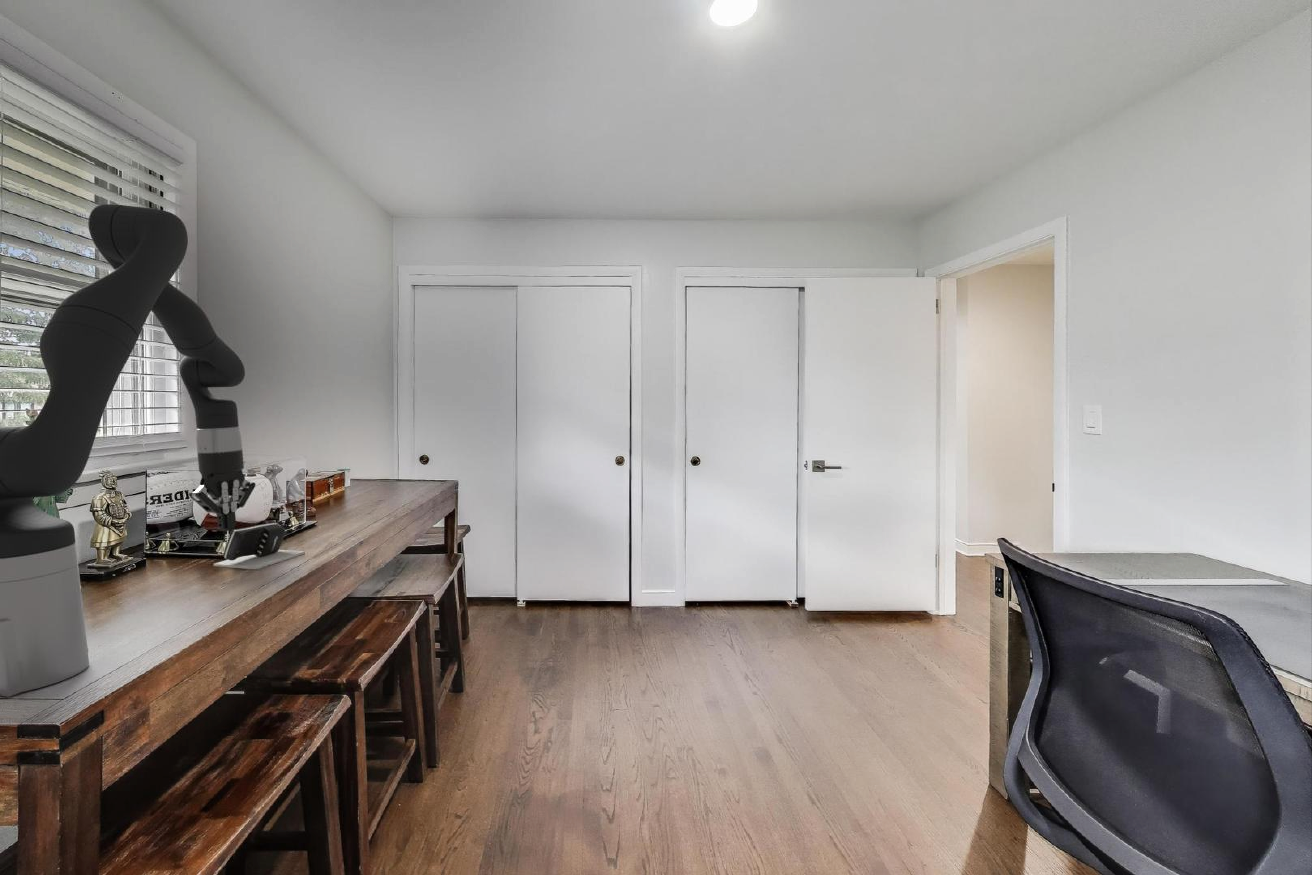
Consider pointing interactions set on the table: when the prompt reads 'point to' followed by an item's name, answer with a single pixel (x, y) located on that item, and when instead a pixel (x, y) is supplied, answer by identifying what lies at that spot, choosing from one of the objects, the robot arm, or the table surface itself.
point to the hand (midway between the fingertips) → (227, 530)
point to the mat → (259, 560)
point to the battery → (254, 541)
